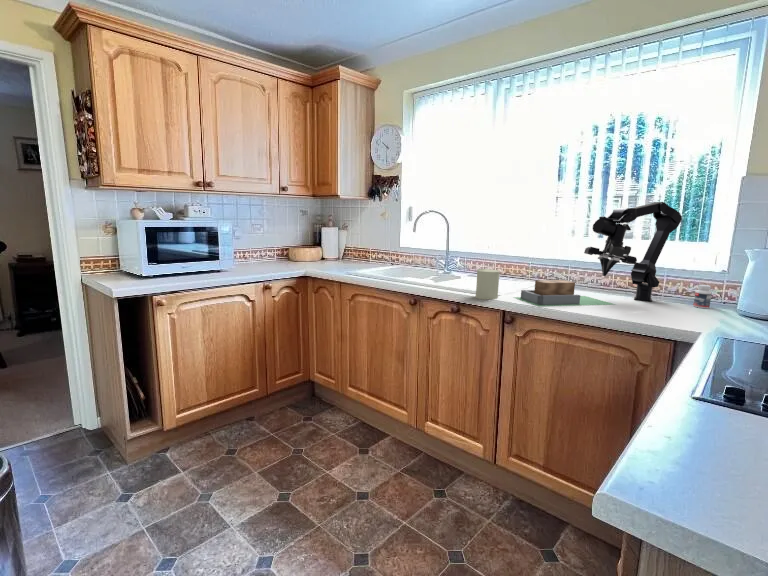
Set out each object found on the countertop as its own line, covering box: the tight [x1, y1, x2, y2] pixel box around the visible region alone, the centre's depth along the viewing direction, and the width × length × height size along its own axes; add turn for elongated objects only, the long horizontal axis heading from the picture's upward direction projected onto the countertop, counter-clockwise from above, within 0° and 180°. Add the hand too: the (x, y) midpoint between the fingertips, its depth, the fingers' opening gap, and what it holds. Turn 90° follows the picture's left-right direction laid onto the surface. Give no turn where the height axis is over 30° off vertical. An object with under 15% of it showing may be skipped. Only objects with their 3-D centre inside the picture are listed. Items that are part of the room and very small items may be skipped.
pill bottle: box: [692, 284, 712, 309], centre depth 169 cm, size 5×5×9 cm
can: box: [475, 268, 501, 301], centre depth 176 cm, size 9×9×12 cm
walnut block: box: [533, 279, 576, 295], centre depth 171 cm, size 14×6×8 cm, turn 104°
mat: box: [512, 295, 617, 308], centre depth 173 cm, size 35×18×1 cm, turn 104°
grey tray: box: [520, 289, 581, 305], centre depth 171 cm, size 18×13×4 cm
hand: (604, 275), depth 174 cm, fingers closed
